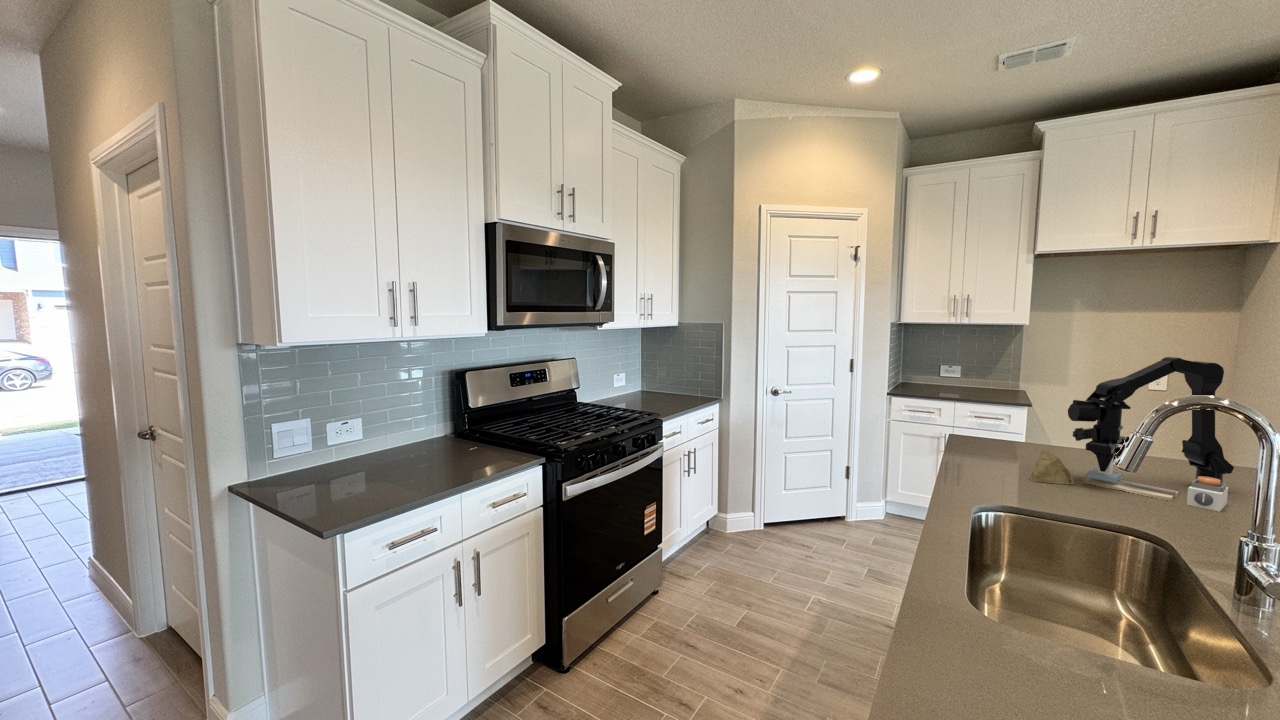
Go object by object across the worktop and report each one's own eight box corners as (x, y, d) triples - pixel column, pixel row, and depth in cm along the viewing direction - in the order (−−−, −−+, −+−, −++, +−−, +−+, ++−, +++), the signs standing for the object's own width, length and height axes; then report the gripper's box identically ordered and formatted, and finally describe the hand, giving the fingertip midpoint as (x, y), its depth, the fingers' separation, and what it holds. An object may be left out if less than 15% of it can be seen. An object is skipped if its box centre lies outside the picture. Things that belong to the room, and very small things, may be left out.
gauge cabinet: (1194, 497, 154) (1196, 477, 153) (1226, 504, 148) (1228, 483, 148) (1186, 505, 148) (1188, 484, 147) (1219, 512, 142) (1221, 490, 142)
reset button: (1198, 480, 151) (1199, 475, 150) (1221, 484, 147) (1221, 479, 147) (1195, 482, 148) (1196, 478, 148) (1218, 486, 144) (1218, 482, 144)
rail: (1093, 477, 173) (1093, 472, 172) (1178, 494, 156) (1178, 488, 156) (1083, 483, 167) (1083, 477, 167) (1170, 501, 151) (1170, 495, 150)
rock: (1080, 476, 167) (1044, 464, 175) (1079, 458, 163) (1042, 447, 171) (1065, 500, 164) (1028, 487, 172) (1063, 483, 160) (1026, 470, 168)
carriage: (1094, 472, 172) (1096, 453, 171) (1122, 477, 166) (1124, 458, 165) (1086, 476, 167) (1088, 457, 166) (1115, 482, 161) (1116, 462, 161)
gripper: (1086, 414, 177) (1083, 459, 178) (1066, 421, 166) (1063, 468, 167) (1130, 420, 168) (1126, 467, 169) (1112, 427, 157) (1108, 477, 158)
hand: (1105, 470), depth 166 cm, fingers open, 5 cm apart
